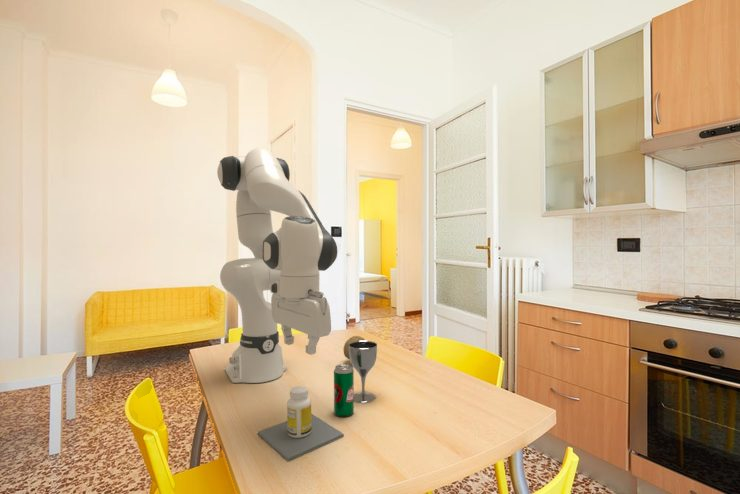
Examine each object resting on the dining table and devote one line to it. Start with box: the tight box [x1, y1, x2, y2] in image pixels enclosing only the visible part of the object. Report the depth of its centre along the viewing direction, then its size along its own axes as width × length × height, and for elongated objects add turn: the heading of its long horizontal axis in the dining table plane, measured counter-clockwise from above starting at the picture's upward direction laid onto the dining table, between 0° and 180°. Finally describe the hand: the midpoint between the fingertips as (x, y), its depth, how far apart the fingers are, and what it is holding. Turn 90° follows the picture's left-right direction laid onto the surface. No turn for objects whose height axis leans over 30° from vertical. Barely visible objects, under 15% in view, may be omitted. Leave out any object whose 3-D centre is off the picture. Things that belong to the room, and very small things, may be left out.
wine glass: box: [349, 340, 378, 404], centre depth 103 cm, size 8×8×15 cm
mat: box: [257, 413, 345, 462], centre depth 83 cm, size 14×14×1 cm
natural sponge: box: [343, 335, 367, 361], centre depth 132 cm, size 9×9×10 cm
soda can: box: [333, 363, 355, 418], centre depth 93 cm, size 5×5×12 cm
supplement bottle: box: [286, 385, 312, 438], centre depth 83 cm, size 5×5×10 cm
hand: (299, 348), depth 83 cm, fingers open, 8 cm apart
